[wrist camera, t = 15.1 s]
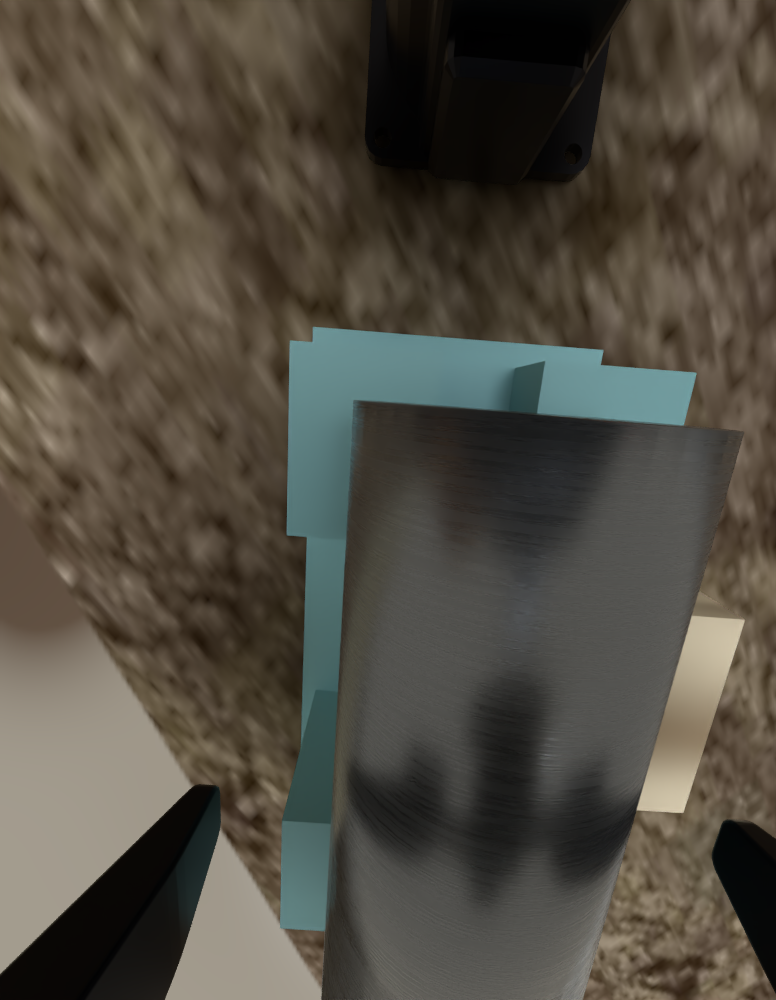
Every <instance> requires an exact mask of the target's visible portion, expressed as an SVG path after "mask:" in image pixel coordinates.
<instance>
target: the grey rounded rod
mask: <svg viewBox="0 0 776 1000" xmlns="http://www.w3.org/2000/svg"><path fill="white" fill-rule="evenodd" d="M743 434H744V432H743V431H735V430H726V429H716V428H706V427H696V426H685V425H674V424H663V423H652V422H640V421H629V420H617V419H605V418H594V417H582V416H570V415H557V414H545V413H533V412H521V411H508V410H495V409H483V408H470V407H457V406H443V405H430V404H416V403H402V402H387V401H371V400H353V418H352V437H351V455H350V474H349V493H348V511H347V530H346V549H345V567H344V586H343V604H342V623H341V642H340V660H339V679H338V698H337V716H336V735H335V754H334V772H333V791H332V809H331V828H330V847H329V865H328V884H327V903H326V921H325V940H324V959H323V977H322V996H321V1000H583V997H584V993H585V990H586V986H587V983H588V979H589V975H590V972H591V968H592V965H593V961H594V958H595V954H596V951H597V947H598V944H599V940H600V937H601V933H602V930H603V926H604V923H605V919H606V916H607V912H608V909H609V905H610V902H611V898H612V895H613V891H614V888H615V884H616V881H617V877H618V874H619V870H620V867H621V863H622V860H623V856H624V853H625V849H626V845H627V842H628V838H629V835H630V831H631V828H632V824H633V821H634V817H635V814H636V810H637V807H638V803H639V800H640V796H641V793H642V789H643V786H644V782H645V779H646V775H647V772H648V768H649V765H650V761H651V758H652V754H653V751H654V747H655V744H656V740H657V737H658V733H659V730H660V726H661V723H662V719H663V715H664V712H665V708H666V705H667V701H668V698H669V694H670V691H671V687H672V684H673V680H674V677H675V673H676V670H677V666H678V663H679V659H680V656H681V652H682V649H683V645H684V642H685V638H686V635H687V631H688V628H689V624H690V621H691V617H692V614H693V610H694V607H695V603H696V600H697V596H698V593H699V589H700V585H701V582H702V578H703V575H704V571H705V568H706V564H707V561H708V557H709V554H710V550H711V547H712V543H713V540H714V536H715V533H716V529H717V526H718V522H719V519H720V515H721V512H722V508H723V505H724V501H725V498H726V494H727V491H728V487H729V484H730V480H731V477H732V473H733V470H734V466H735V463H736V459H737V455H738V452H739V448H740V445H741V441H742V438H743Z"/></svg>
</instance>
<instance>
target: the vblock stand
mask: <svg viewBox="0 0 776 1000" xmlns="http://www.w3.org/2000/svg"><path fill="white" fill-rule="evenodd" d="M602 355H603V350H596V349H583V348H571V347H558V346H546V345H533V344H521V343H508V342H496V341H483V340H471V339H458V338H446V337H434V336H421V335H409V334H396V333H384V332H371V331H359V330H346V329H334V328H321V327H313V342H303V341H290V362H289V424H288V485H287V535H288V536H301V537H307V552H306V586H305V621H304V655H303V689H302V724H301V749H300V753H299V756H298V760H297V764H296V768H295V772H294V776H293V780H292V784H291V788H290V792H289V795H288V799H287V803H286V807H285V811H284V815H283V819H282V853H281V914H280V928H283V929H300V930H316V931H325V921H326V903H327V884H328V865H329V847H330V828H331V809H332V791H333V772H334V754H335V735H336V716H337V698H338V679H339V660H340V642H341V623H342V604H343V586H344V567H345V549H346V530H347V511H348V493H349V474H350V455H351V437H352V418H353V400H371V401H387V402H402V403H416V404H430V405H443V406H457V407H470V408H483V409H495V410H508V411H521V412H533V413H545V414H557V415H570V416H582V417H594V418H605V419H617V420H629V421H640V422H652V423H663V424H674V425H684V422H685V418H686V414H687V410H688V406H689V402H690V398H691V394H692V390H693V386H694V382H695V378H696V374H697V373H692V372H680V371H667V370H654V369H642V368H629V367H617V366H604V365H601V360H602Z"/></svg>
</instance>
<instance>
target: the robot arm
mask: <svg viewBox="0 0 776 1000" xmlns="http://www.w3.org/2000/svg"><path fill="white" fill-rule="evenodd" d="M630 1H631V0H372V13H371V32H370V51H369V70H368V89H367V108H366V127H365V141H366V150H367V154H368V156H369V158H370V159H371V160H372V161H373V162H374V163H375V164H378V165H381V166H391V167H403V168H414V169H426V170H429V171H430V172H431V174H432V175H433V176H434V177H435V178H441V179H453V180H464V181H476V182H488V183H499V184H511V185H515V184H517V183H518V182H520V181H521V180H522V179H523V178H531V179H543V180H555V181H570V180H572V179H574V178H576V177H577V176H578V175H579V174H580V172H581V171H582V170H583V169H584V168H585V166H586V165H587V164H588V161H589V158H590V155H591V149H592V143H593V137H594V131H595V125H596V119H597V113H598V107H599V102H600V96H601V90H602V84H603V78H604V72H605V66H606V60H607V54H608V48H609V42H610V36H611V32H612V31H613V29H614V27H615V26H616V24H617V22H618V21H619V19H620V17H621V16H622V14H623V12H624V11H625V9H626V8H627V6H628V4H629V3H630ZM379 136H386V137H388V138H389V140H390V141H391V142H390V144H389V145H388V146H387V147H385V148H380V147H378V146H377V145H376V144H375V140H376V139H377V138H378V137H379ZM565 152H571V153H573V154H574V155H575V157H576V164H572V165H571V164H569V163H567V161H566V160H565V156H564V153H565ZM220 824H221V812H220V790H219V787H218V786H216V785H204V784H198V785H195V786H193V787H192V788H191V789H190V790H189V791H188V792H187V793H186V794H185V795H183V796H182V797H181V798H180V799H179V800H178V801H177V802H176V803H175V804H174V805H173V806H172V807H171V808H170V809H169V810H168V811H167V812H166V813H165V814H164V815H163V816H162V817H161V818H160V819H159V820H158V821H157V822H156V823H155V824H154V825H153V826H152V827H151V828H150V829H149V830H147V832H146V833H145V834H143V835H142V836H141V837H140V838H139V839H138V840H137V841H136V842H135V843H134V844H133V845H132V846H131V847H130V848H129V849H128V850H127V851H126V852H125V853H124V854H123V855H122V856H121V857H120V858H119V859H118V860H117V861H116V862H115V863H114V864H113V865H112V866H111V867H110V868H108V869H107V870H106V872H104V873H103V874H102V875H101V876H100V877H99V878H98V879H97V880H96V881H95V882H94V883H93V884H92V885H91V886H90V887H89V888H88V889H87V890H86V891H85V892H84V893H83V894H82V895H81V896H80V897H79V898H78V899H77V900H76V901H75V902H74V903H73V904H72V905H71V906H69V908H67V909H66V910H65V911H64V912H63V913H62V914H61V915H60V916H59V917H58V918H57V919H56V920H55V921H54V922H53V923H52V924H51V925H50V926H49V927H48V928H47V929H46V930H45V931H44V932H43V933H42V934H41V935H40V936H39V937H38V938H37V939H36V940H35V941H34V942H33V943H32V944H31V945H29V947H27V948H26V949H25V950H24V952H22V953H21V954H20V955H19V956H18V957H17V958H16V959H15V960H14V961H13V962H12V963H11V964H10V965H9V966H8V967H7V968H6V969H5V970H4V971H3V972H2V973H1V974H0V1000H165V998H166V995H167V993H168V990H169V988H170V985H171V982H172V980H173V977H174V975H175V972H176V969H177V966H178V964H179V961H180V958H181V956H182V953H183V949H184V946H185V943H186V940H187V937H188V934H189V931H190V927H191V924H192V921H193V918H194V914H195V911H196V908H197V904H198V901H199V898H200V895H201V891H202V888H203V885H204V881H205V878H206V875H207V871H208V868H209V865H210V862H211V858H212V855H213V852H214V849H215V845H216V842H217V839H218V835H219V831H220ZM712 861H713V865H714V868H715V870H716V873H717V875H718V877H719V879H720V881H721V883H722V885H723V887H724V889H725V891H726V893H727V895H728V897H729V900H730V902H731V904H732V906H733V908H734V910H735V912H736V914H737V916H738V918H739V920H740V922H741V924H742V926H743V928H744V930H745V933H746V935H747V937H748V939H749V941H750V943H751V945H752V947H753V949H754V951H755V953H756V955H757V957H758V959H759V961H760V963H761V966H762V968H763V970H764V972H765V974H766V976H767V978H768V980H769V981H770V983H771V985H772V987H773V989H774V991H775V993H776V839H775V838H774V837H772V836H771V835H770V834H768V833H767V832H766V831H764V830H763V829H762V828H760V827H759V826H757V825H756V824H754V823H752V822H750V821H746V820H735V819H727V820H725V821H723V823H722V825H721V827H720V830H719V833H718V836H717V839H716V842H715V844H714V847H713V850H712Z"/></svg>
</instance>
